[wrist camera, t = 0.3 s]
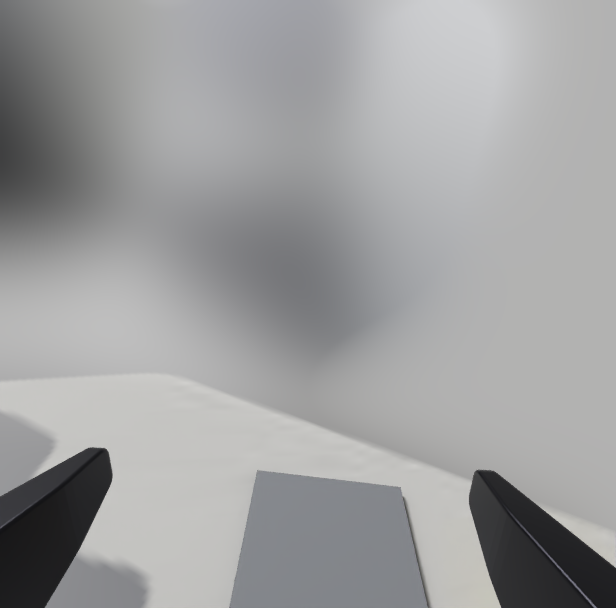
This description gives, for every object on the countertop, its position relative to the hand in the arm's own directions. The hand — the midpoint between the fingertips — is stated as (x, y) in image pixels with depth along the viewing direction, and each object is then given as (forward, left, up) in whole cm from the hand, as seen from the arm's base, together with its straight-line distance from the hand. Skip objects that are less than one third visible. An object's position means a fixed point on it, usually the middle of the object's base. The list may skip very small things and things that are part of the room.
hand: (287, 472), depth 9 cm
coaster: (+8, -3, -16) cm, 18 cm away
